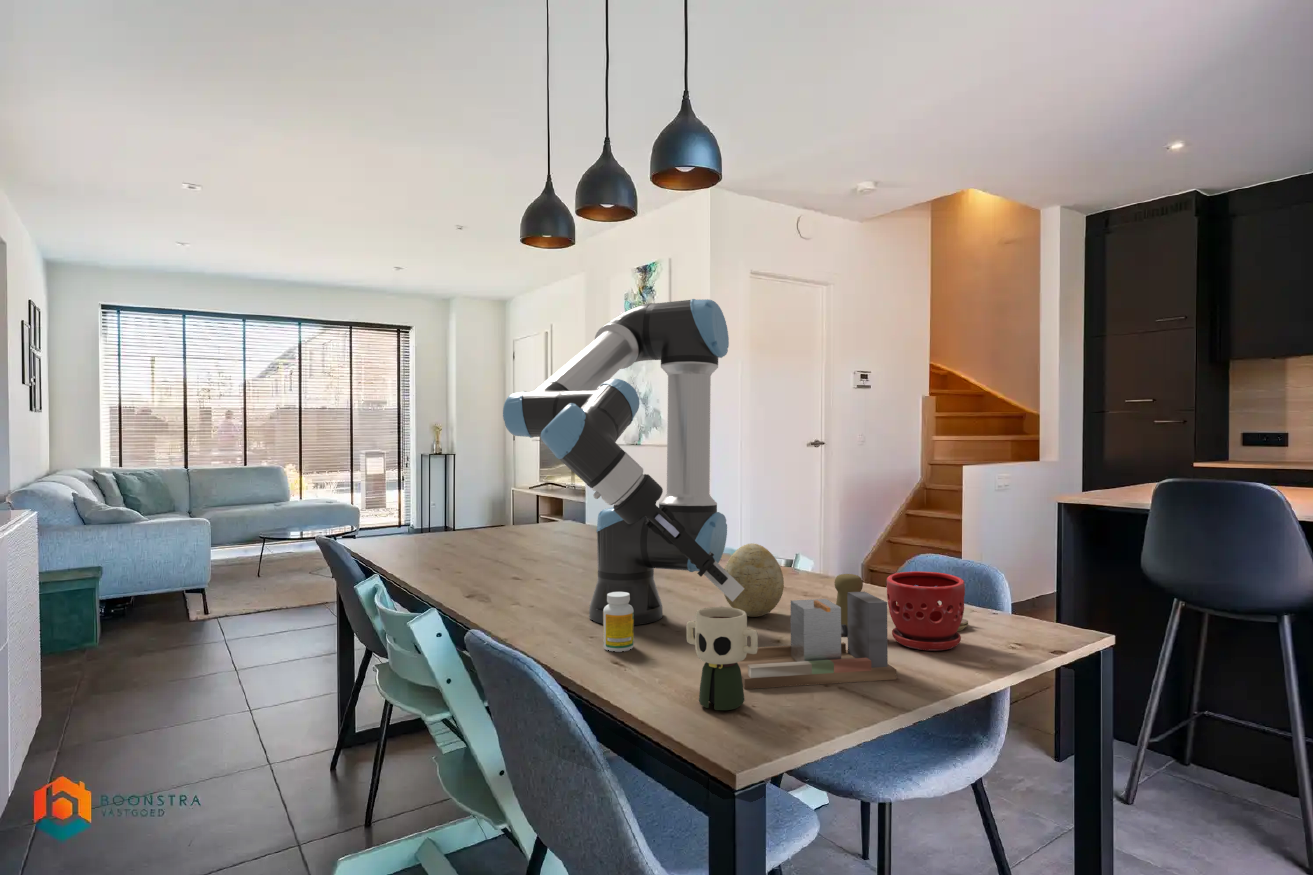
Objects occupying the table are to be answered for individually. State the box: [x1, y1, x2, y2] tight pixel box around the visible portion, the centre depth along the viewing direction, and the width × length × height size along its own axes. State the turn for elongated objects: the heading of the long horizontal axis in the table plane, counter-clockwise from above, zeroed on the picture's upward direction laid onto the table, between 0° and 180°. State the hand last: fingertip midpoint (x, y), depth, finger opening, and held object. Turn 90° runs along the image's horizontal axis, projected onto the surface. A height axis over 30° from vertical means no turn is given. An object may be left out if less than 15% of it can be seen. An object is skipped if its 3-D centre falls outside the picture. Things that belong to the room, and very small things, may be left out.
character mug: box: [686, 606, 759, 711], centre depth 103 cm, size 11×7×13 cm, turn 58°
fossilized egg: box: [723, 542, 785, 618], centre depth 154 cm, size 13×13×15 cm
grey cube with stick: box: [790, 598, 848, 662], centre depth 116 cm, size 8×8×10 cm
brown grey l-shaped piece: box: [737, 591, 897, 690], centre depth 117 cm, size 11×24×12 cm, turn 99°
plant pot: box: [886, 570, 966, 652], centre depth 132 cm, size 13×13×12 cm
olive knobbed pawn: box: [833, 573, 864, 638], centre depth 140 cm, size 6×6×11 cm
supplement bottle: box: [602, 592, 635, 653], centre depth 131 cm, size 5×5×10 cm
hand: (737, 593), depth 115 cm, fingers closed
